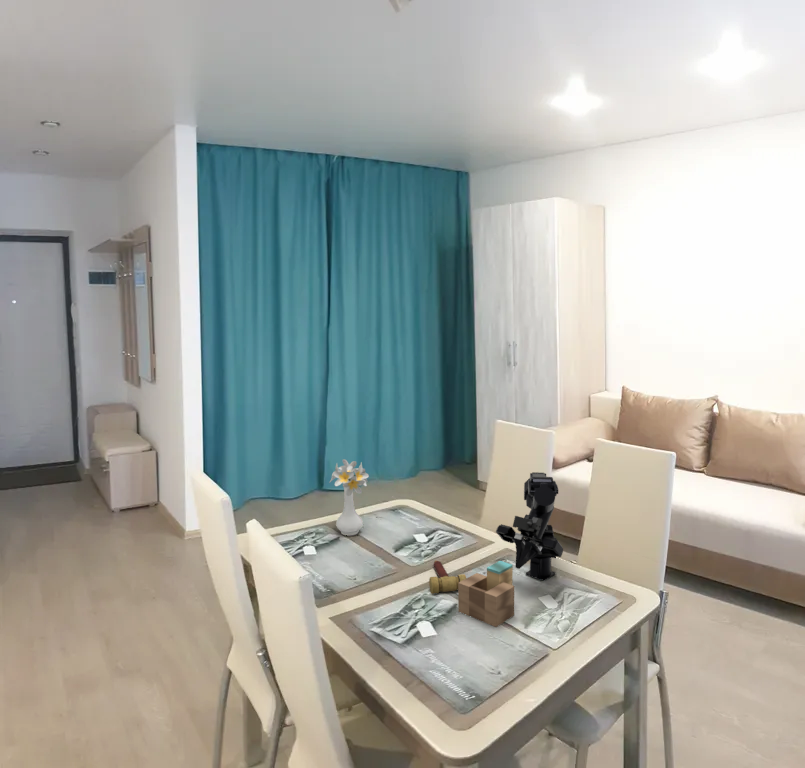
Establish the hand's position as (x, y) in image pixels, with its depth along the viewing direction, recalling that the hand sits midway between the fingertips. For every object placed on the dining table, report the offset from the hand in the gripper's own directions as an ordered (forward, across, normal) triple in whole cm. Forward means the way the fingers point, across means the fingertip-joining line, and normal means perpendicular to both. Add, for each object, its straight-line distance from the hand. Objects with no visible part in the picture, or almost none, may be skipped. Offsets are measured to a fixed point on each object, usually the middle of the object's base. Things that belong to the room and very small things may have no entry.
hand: (517, 567), depth 181 cm
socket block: (+15, -1, -4) cm, 16 cm away
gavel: (+9, -23, +4) cm, 25 cm away
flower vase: (+4, -69, +9) cm, 70 cm away
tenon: (+11, -1, 0) cm, 11 cm away
